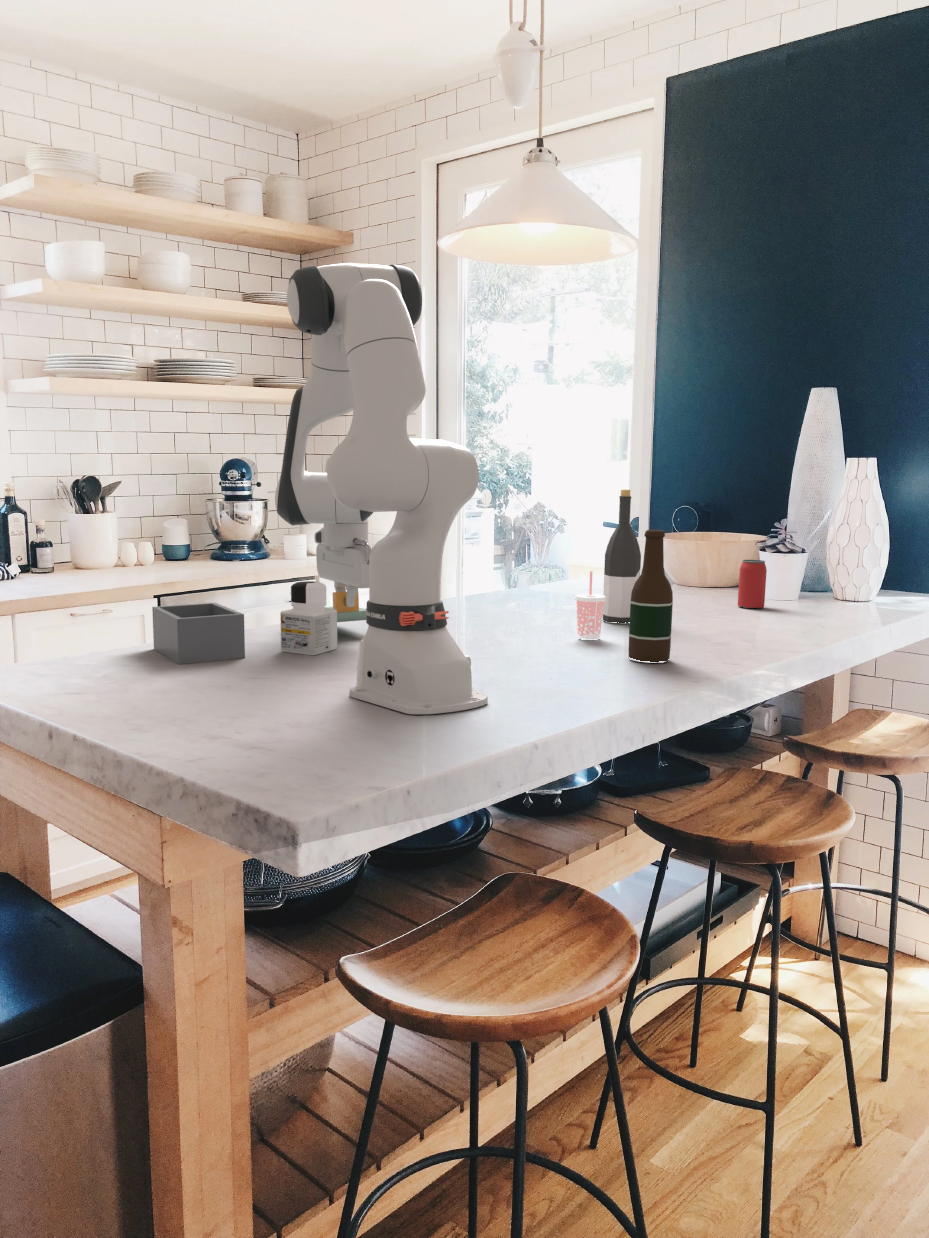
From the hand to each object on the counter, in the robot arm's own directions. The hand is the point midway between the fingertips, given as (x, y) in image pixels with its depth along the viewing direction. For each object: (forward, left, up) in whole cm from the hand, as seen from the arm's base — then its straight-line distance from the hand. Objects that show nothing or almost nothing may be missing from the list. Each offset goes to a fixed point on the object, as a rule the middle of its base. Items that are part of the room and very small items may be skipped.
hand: (346, 605), depth 194 cm
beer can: (-10, -109, -7) cm, 110 cm away
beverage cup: (-25, -43, -7) cm, 50 cm away
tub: (-2, +31, -7) cm, 32 cm away
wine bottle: (-11, -64, -7) cm, 65 cm away
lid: (+6, 0, -3) cm, 7 cm away
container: (-9, +12, -7) cm, 16 cm away
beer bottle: (-47, -39, -7) cm, 61 cm away
